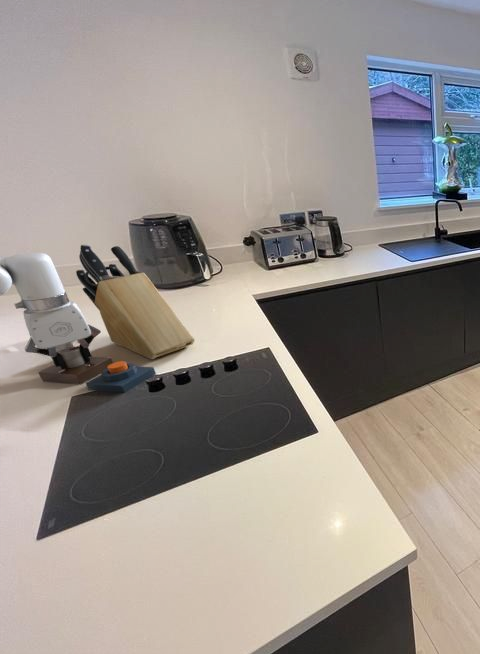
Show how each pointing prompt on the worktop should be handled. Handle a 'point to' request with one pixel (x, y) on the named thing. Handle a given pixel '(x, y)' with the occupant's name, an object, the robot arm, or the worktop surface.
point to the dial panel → (76, 371)
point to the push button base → (121, 379)
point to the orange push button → (117, 367)
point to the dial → (72, 357)
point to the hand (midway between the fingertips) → (75, 363)
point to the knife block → (132, 306)
